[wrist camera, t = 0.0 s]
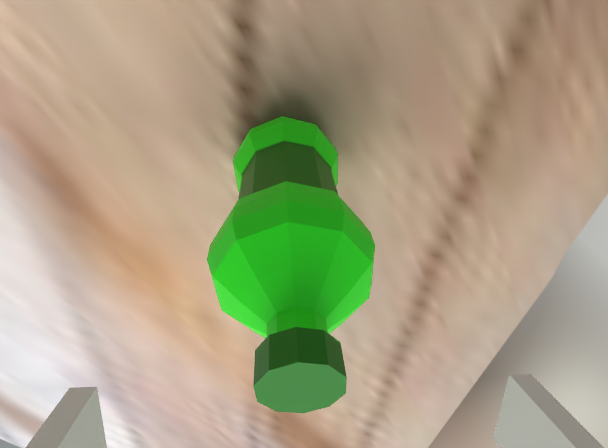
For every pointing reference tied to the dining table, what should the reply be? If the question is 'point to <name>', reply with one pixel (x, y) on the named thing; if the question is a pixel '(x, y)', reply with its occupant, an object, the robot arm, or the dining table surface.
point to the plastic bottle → (292, 263)
